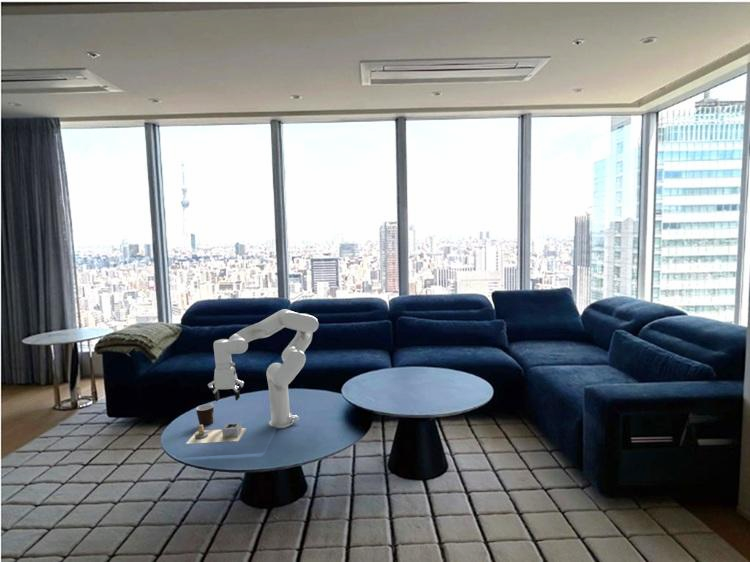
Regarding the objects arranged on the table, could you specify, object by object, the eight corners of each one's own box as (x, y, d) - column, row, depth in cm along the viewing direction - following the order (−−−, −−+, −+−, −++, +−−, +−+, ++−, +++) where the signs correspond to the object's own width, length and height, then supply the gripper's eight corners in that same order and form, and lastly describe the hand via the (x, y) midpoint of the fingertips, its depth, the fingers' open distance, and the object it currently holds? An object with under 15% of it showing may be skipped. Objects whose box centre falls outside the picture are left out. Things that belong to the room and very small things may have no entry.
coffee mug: (209, 429, 234) (207, 410, 233) (194, 428, 236) (192, 410, 235) (221, 420, 245) (219, 402, 244) (206, 419, 247) (205, 401, 246)
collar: (241, 431, 227) (241, 422, 226) (237, 437, 220) (236, 428, 219) (227, 432, 227) (226, 423, 226) (223, 438, 220) (222, 429, 220)
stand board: (247, 430, 231) (245, 417, 230) (238, 443, 217) (237, 429, 216) (197, 433, 231) (195, 420, 230) (185, 446, 217) (184, 432, 216)
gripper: (244, 362, 224) (247, 396, 226) (209, 363, 224) (213, 397, 226) (239, 366, 216) (242, 402, 218) (203, 368, 217) (206, 403, 219)
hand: (227, 399), depth 222 cm, fingers open, 9 cm apart
